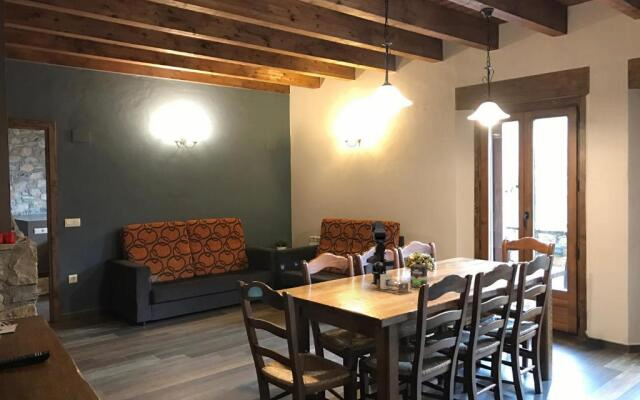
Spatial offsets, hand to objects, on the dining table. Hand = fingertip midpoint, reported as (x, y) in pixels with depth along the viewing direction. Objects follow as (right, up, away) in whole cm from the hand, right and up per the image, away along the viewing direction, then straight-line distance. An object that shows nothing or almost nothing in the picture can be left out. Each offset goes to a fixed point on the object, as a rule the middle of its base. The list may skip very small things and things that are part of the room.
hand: (379, 276), depth 326 cm
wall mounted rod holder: (+6, -8, -8) cm, 13 cm away
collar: (+3, -8, -4) cm, 10 cm away
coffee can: (+24, -8, 0) cm, 25 cm away
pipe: (+6, -8, -8) cm, 13 cm away
